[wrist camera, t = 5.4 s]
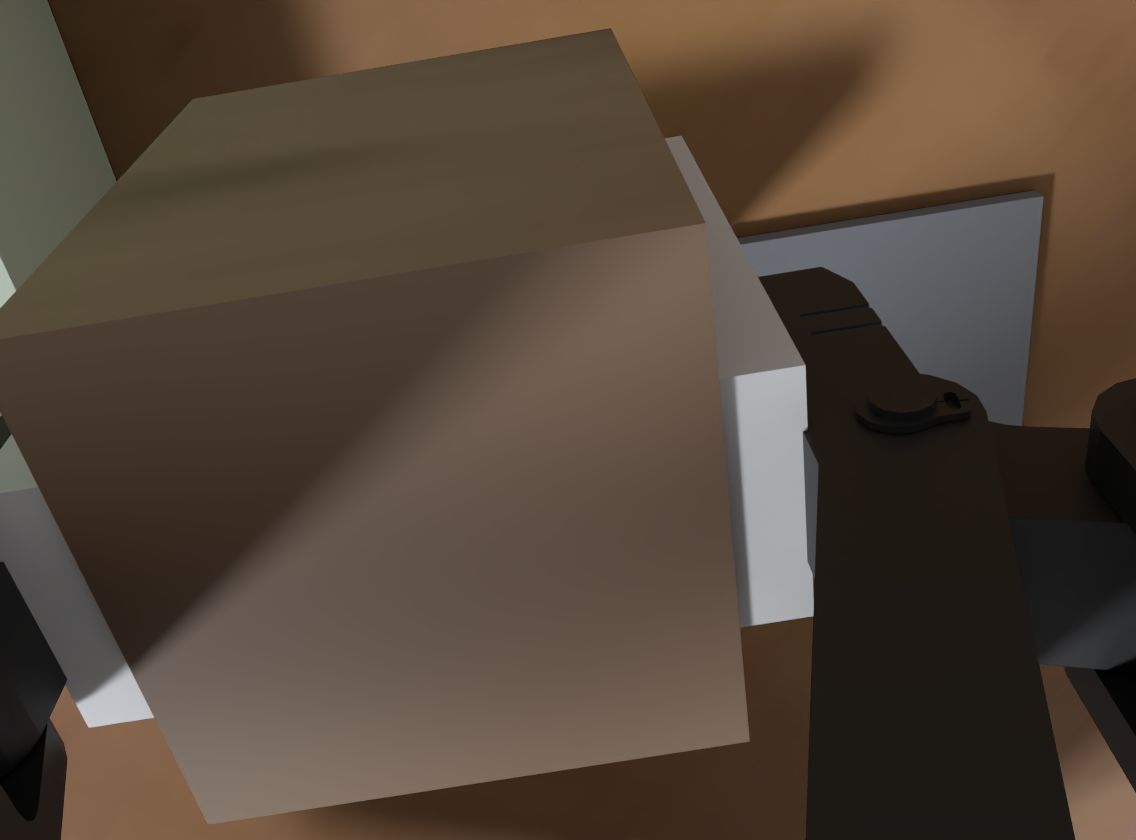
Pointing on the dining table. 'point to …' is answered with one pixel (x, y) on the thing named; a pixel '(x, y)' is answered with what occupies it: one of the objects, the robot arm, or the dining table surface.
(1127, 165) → the dining table surface
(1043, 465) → the robot arm
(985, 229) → the coaster
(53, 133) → the u-shaped panel enclosure
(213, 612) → the walnut block
